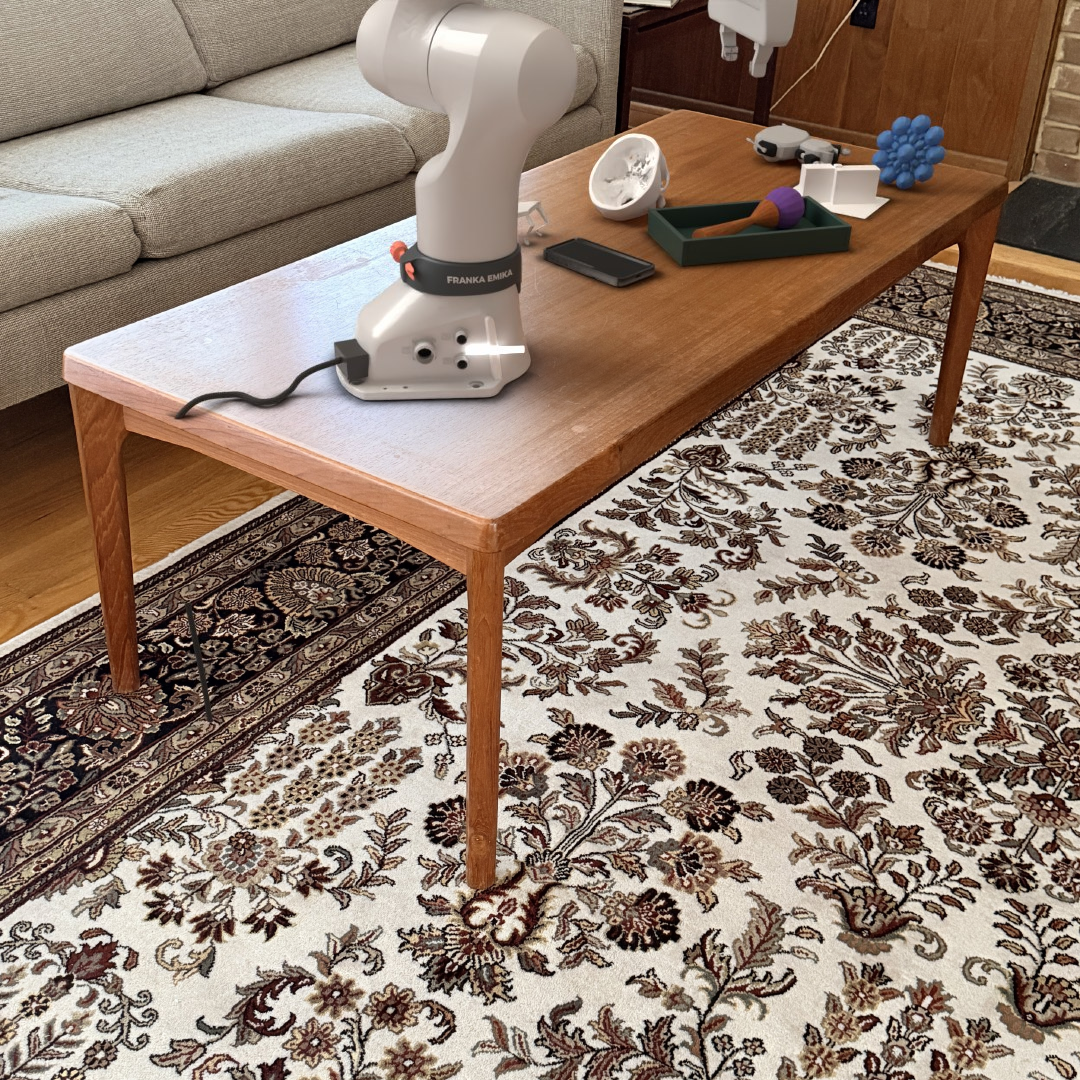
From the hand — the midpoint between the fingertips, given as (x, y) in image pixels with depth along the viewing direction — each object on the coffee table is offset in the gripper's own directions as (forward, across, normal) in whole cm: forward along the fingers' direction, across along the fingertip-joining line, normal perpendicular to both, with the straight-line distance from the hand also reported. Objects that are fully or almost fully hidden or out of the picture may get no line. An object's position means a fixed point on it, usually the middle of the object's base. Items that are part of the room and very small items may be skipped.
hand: (742, 67), depth 167 cm
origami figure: (+24, -4, -32) cm, 40 cm away
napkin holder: (+23, -10, +23) cm, 34 cm away
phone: (+24, +8, -22) cm, 33 cm away
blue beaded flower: (+23, -13, +37) cm, 46 cm away
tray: (+23, +4, +2) cm, 24 cm away
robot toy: (+23, -29, +26) cm, 45 cm away
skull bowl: (+24, -12, -10) cm, 28 cm away
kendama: (+23, +4, +2) cm, 23 cm away
